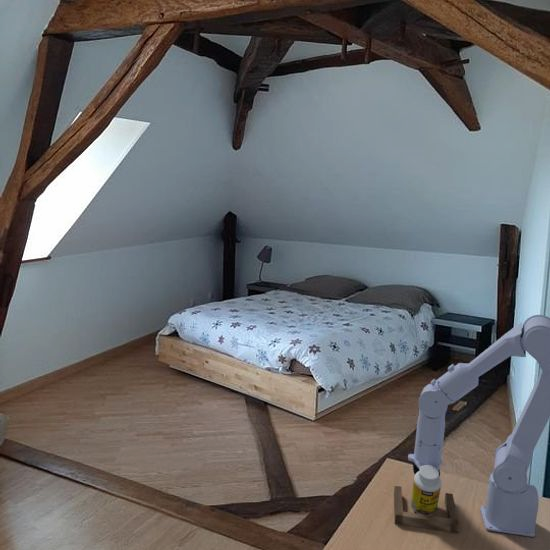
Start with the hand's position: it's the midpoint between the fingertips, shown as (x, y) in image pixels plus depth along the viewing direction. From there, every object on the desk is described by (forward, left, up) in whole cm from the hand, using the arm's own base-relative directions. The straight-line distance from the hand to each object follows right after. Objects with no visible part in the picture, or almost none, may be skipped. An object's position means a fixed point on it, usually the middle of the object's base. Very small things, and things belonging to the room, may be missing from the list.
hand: (423, 496), depth 125 cm
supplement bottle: (0, +3, 0) cm, 3 cm away
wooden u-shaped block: (0, +4, -1) cm, 4 cm away
